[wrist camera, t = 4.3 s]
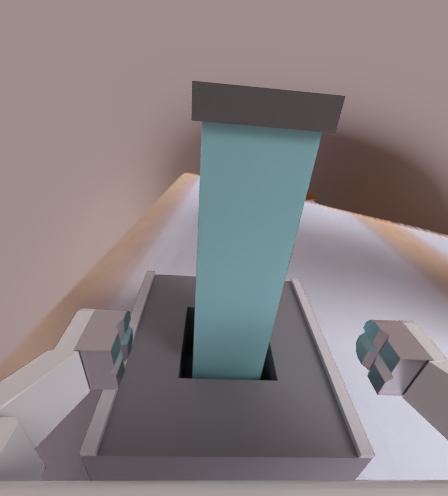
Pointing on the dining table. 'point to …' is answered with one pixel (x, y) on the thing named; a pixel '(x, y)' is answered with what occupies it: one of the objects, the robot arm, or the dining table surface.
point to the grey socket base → (224, 402)
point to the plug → (249, 215)
